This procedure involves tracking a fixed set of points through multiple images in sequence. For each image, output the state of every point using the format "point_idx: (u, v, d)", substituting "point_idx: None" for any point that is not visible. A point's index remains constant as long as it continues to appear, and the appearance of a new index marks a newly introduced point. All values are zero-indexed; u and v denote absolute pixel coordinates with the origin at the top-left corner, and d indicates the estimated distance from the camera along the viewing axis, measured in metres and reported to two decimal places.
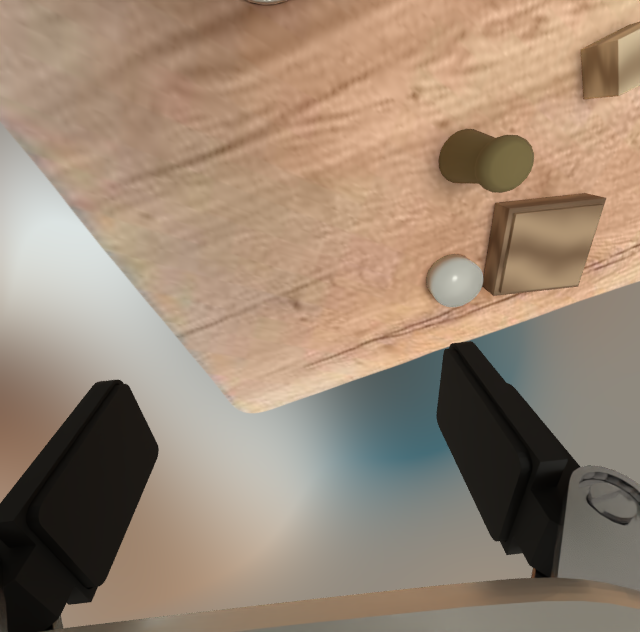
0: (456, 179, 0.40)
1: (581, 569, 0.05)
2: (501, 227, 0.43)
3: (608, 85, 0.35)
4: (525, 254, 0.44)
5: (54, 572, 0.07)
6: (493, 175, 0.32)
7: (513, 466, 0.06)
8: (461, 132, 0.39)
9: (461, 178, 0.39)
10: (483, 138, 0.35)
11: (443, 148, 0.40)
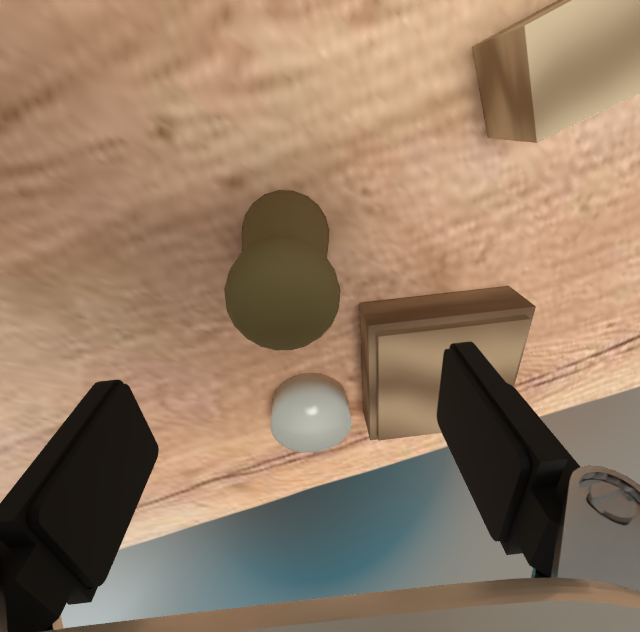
0: None
1: (581, 569, 0.05)
2: (366, 347, 0.26)
3: (519, 119, 0.18)
4: (407, 390, 0.26)
5: (54, 572, 0.07)
6: (246, 328, 0.14)
7: (513, 466, 0.06)
8: (265, 198, 0.21)
9: None
10: (268, 227, 0.17)
11: (243, 223, 0.22)
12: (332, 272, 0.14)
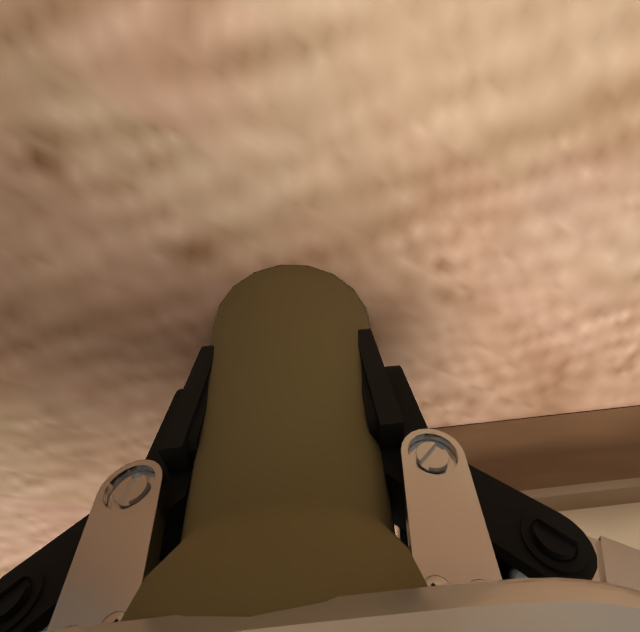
0: None
1: (426, 531, 0.05)
2: None
3: None
4: None
5: None
6: None
7: None
8: (254, 285, 0.11)
9: None
10: (250, 400, 0.07)
11: (215, 323, 0.12)
12: None
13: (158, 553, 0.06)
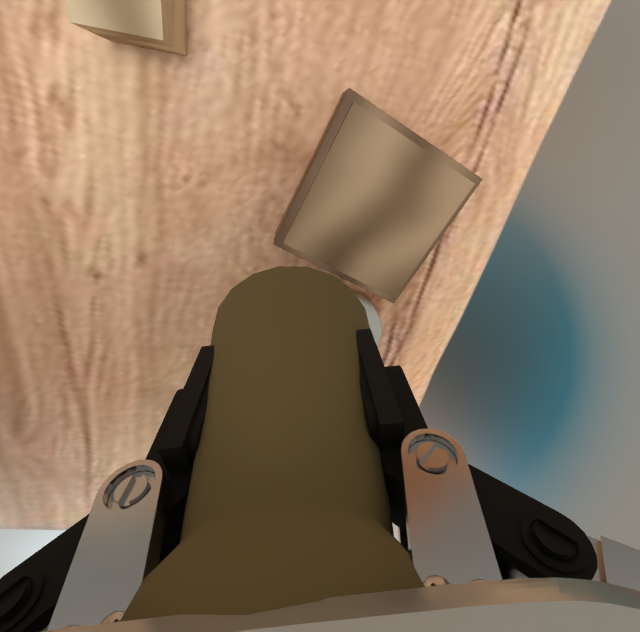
0: None
1: (425, 531, 0.05)
2: None
3: (151, 41, 0.20)
4: (355, 249, 0.27)
5: None
6: None
7: None
8: (253, 286, 0.11)
9: None
10: (249, 403, 0.07)
11: (214, 324, 0.12)
12: None
13: (158, 553, 0.06)
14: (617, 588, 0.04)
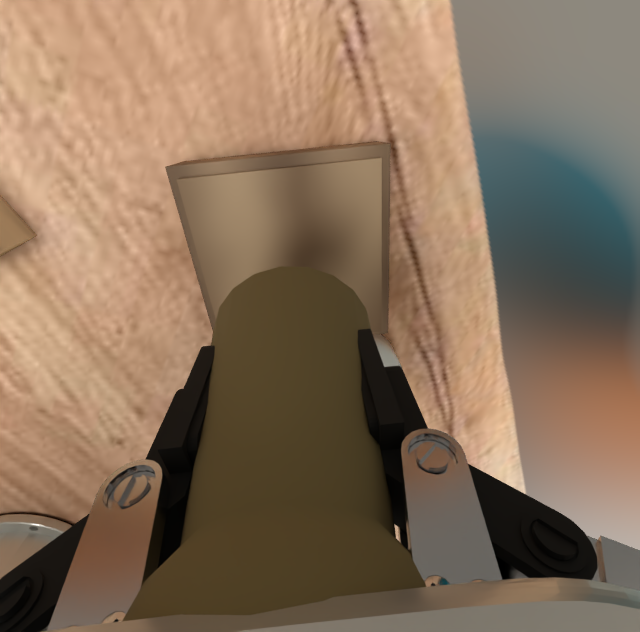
0: None
1: (425, 531, 0.05)
2: None
3: None
4: None
5: None
6: None
7: None
8: (254, 286, 0.11)
9: None
10: (251, 403, 0.07)
11: (215, 324, 0.12)
12: None
13: (158, 553, 0.06)
14: (617, 588, 0.04)
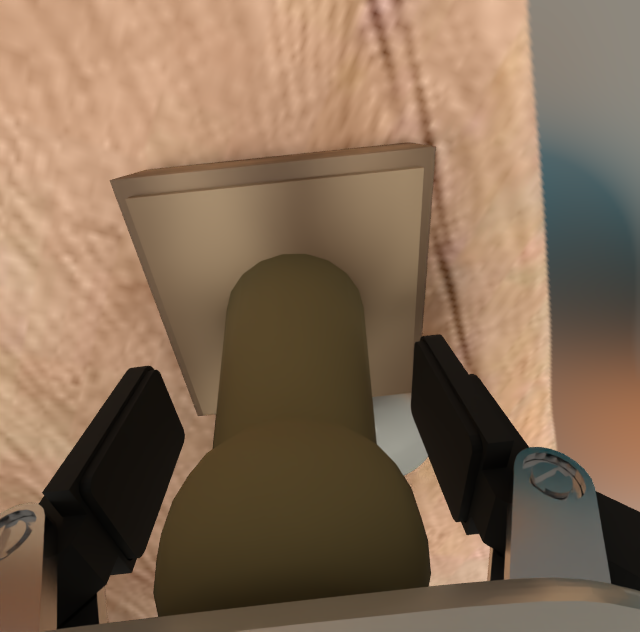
0: None
1: (530, 549, 0.05)
2: None
3: None
4: None
5: (101, 541, 0.07)
6: None
7: (466, 449, 0.07)
8: (261, 271, 0.13)
9: None
10: (261, 356, 0.09)
11: (227, 306, 0.14)
12: (416, 525, 0.06)
13: (55, 588, 0.05)
14: (617, 588, 0.04)
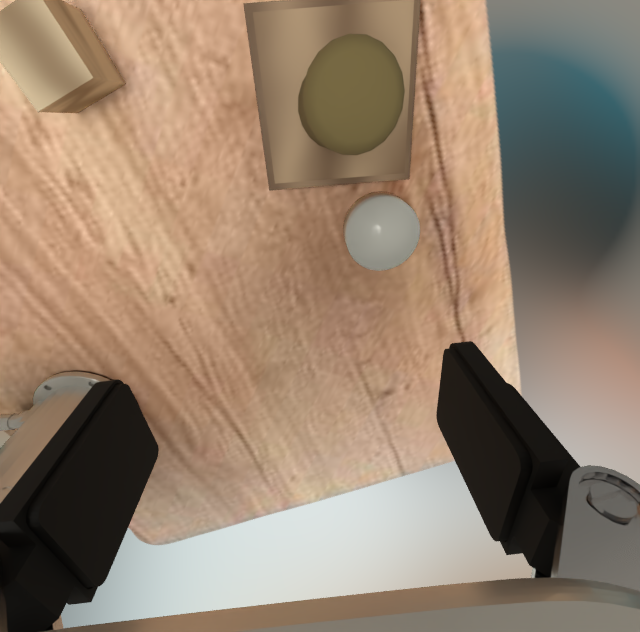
0: None
1: (581, 569, 0.05)
2: None
3: (90, 86, 0.24)
4: None
5: (54, 572, 0.07)
6: (323, 116, 0.16)
7: (513, 466, 0.06)
8: None
9: None
10: None
11: (300, 90, 0.24)
12: (399, 67, 0.16)
13: (4, 616, 0.05)
14: (617, 588, 0.04)
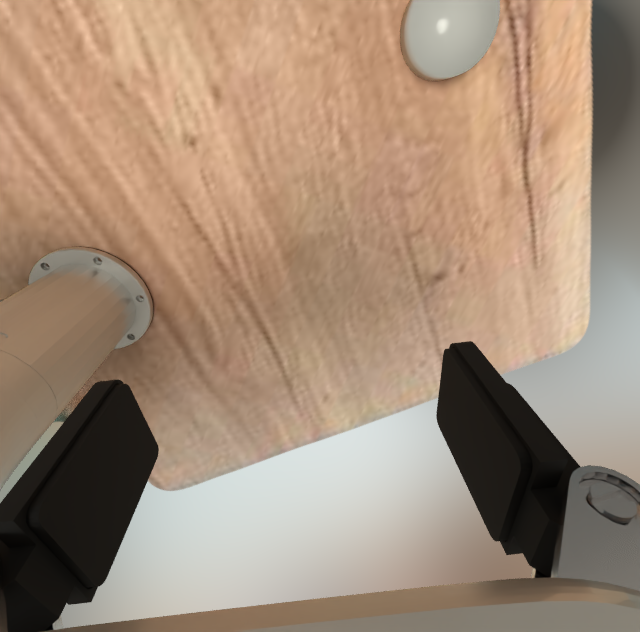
0: None
1: (581, 569, 0.05)
2: None
3: None
4: None
5: (54, 572, 0.07)
6: None
7: (513, 466, 0.06)
8: None
9: None
10: None
11: None
12: None
13: (4, 616, 0.05)
14: (617, 588, 0.04)
